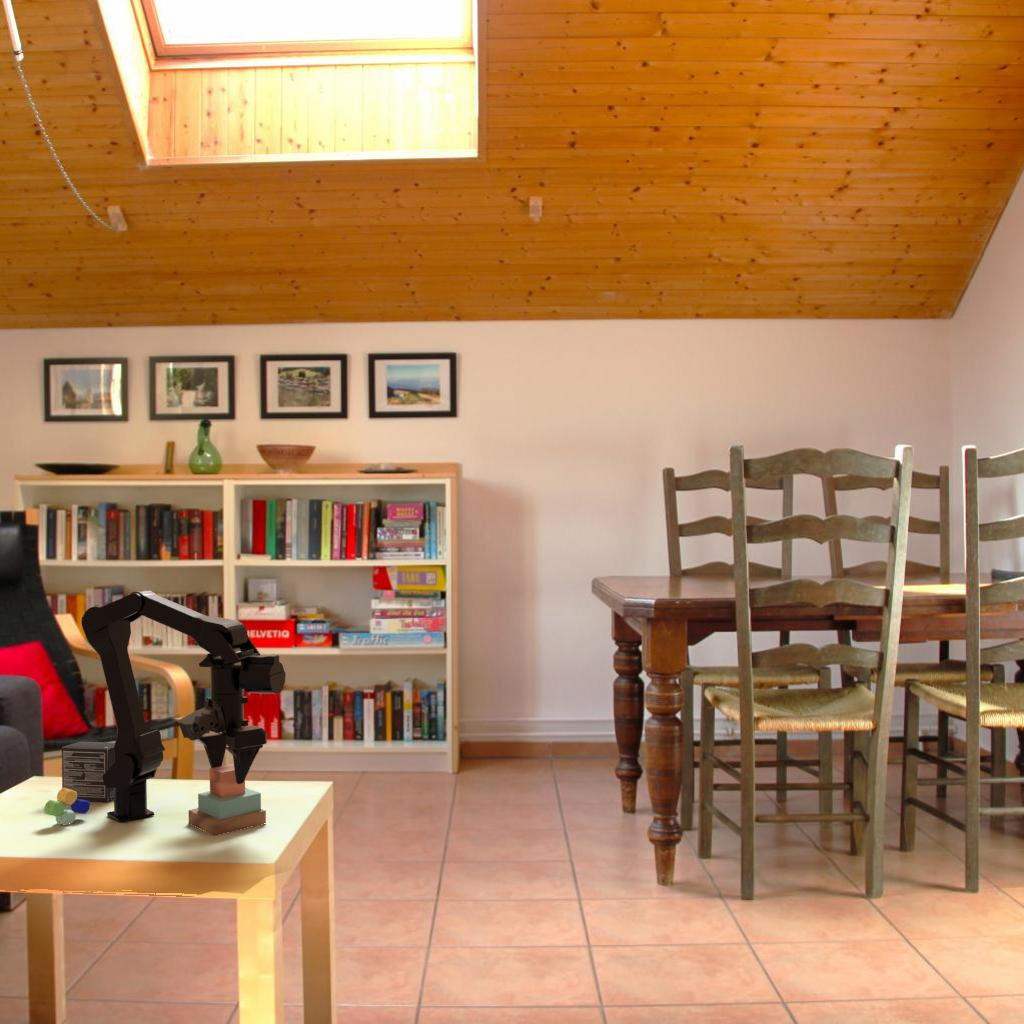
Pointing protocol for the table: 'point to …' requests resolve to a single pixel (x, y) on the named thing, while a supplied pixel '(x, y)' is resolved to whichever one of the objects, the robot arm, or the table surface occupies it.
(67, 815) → the multicolored block cluster
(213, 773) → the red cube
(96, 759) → the small box
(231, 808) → the tower top
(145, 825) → the table surface
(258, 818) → the tower base
